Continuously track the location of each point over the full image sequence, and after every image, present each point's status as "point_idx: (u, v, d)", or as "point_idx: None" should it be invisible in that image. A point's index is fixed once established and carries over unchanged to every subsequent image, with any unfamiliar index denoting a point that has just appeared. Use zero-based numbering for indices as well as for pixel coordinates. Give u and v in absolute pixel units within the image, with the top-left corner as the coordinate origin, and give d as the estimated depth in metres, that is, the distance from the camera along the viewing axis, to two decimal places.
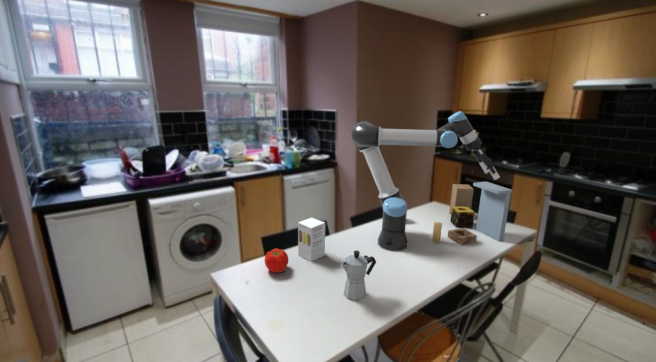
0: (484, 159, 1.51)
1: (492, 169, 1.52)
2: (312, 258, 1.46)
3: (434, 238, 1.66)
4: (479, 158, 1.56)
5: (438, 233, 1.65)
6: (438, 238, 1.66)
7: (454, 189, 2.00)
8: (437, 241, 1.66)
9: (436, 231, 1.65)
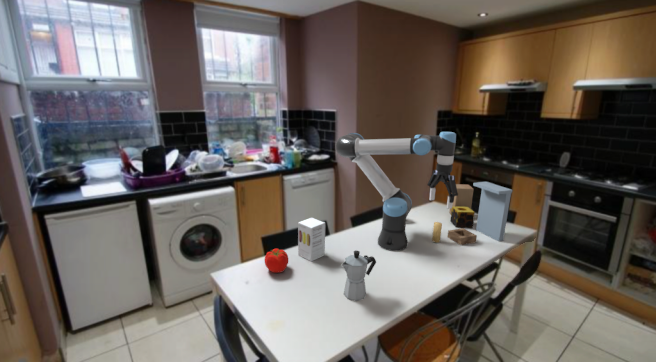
0: (453, 186, 1.52)
1: (453, 198, 1.54)
2: (312, 258, 1.46)
3: (434, 238, 1.66)
4: (445, 183, 1.56)
5: (438, 233, 1.65)
6: (438, 238, 1.66)
7: None
8: (437, 241, 1.66)
9: (436, 231, 1.65)
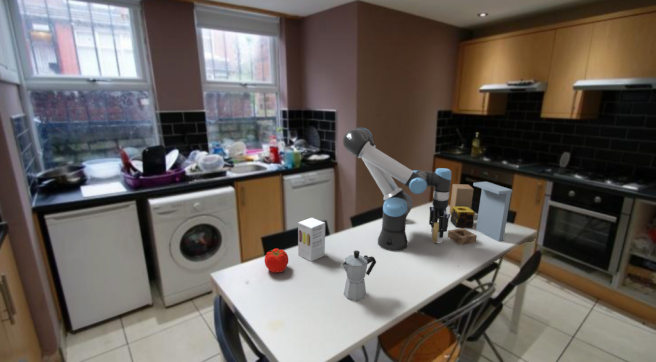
0: (445, 223, 1.59)
1: (442, 233, 1.63)
2: (312, 258, 1.46)
3: (434, 238, 1.66)
4: (439, 218, 1.62)
5: None
6: None
7: (454, 189, 2.00)
8: None
9: (436, 231, 1.65)
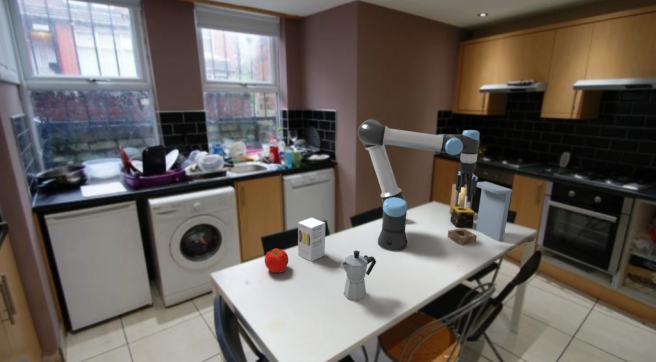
0: (473, 186, 1.56)
1: (470, 197, 1.60)
2: (312, 258, 1.46)
3: (462, 203, 1.63)
4: (466, 182, 1.59)
5: None
6: None
7: (454, 189, 2.00)
8: None
9: (463, 196, 1.61)
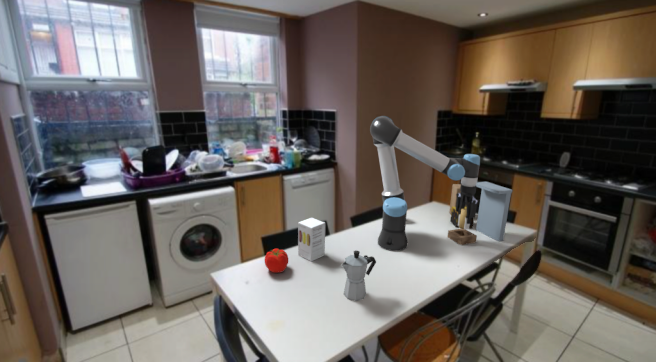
0: (473, 209, 1.60)
1: (470, 219, 1.63)
2: (312, 258, 1.46)
3: (461, 225, 1.66)
4: (466, 204, 1.62)
5: None
6: None
7: (454, 189, 2.00)
8: None
9: (463, 218, 1.65)
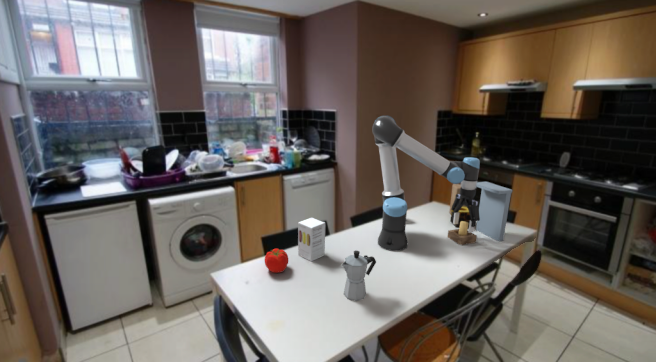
0: (476, 211, 1.58)
1: (474, 222, 1.60)
2: (312, 258, 1.46)
3: None
4: (468, 207, 1.61)
5: (464, 232, 1.66)
6: None
7: (454, 189, 2.00)
8: None
9: (462, 230, 1.66)
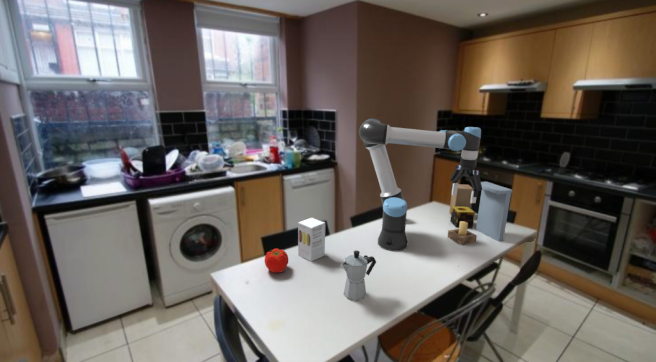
0: (477, 180, 1.54)
1: (477, 192, 1.56)
2: (312, 258, 1.46)
3: None
4: (469, 178, 1.58)
5: (464, 232, 1.66)
6: None
7: None
8: None
9: (462, 230, 1.67)
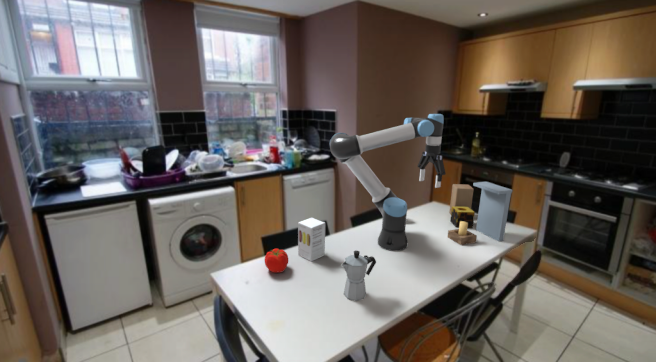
0: (440, 165, 1.59)
1: (440, 177, 1.61)
2: (312, 258, 1.46)
3: None
4: (433, 163, 1.63)
5: (464, 232, 1.66)
6: None
7: (454, 189, 2.00)
8: None
9: (462, 230, 1.67)
